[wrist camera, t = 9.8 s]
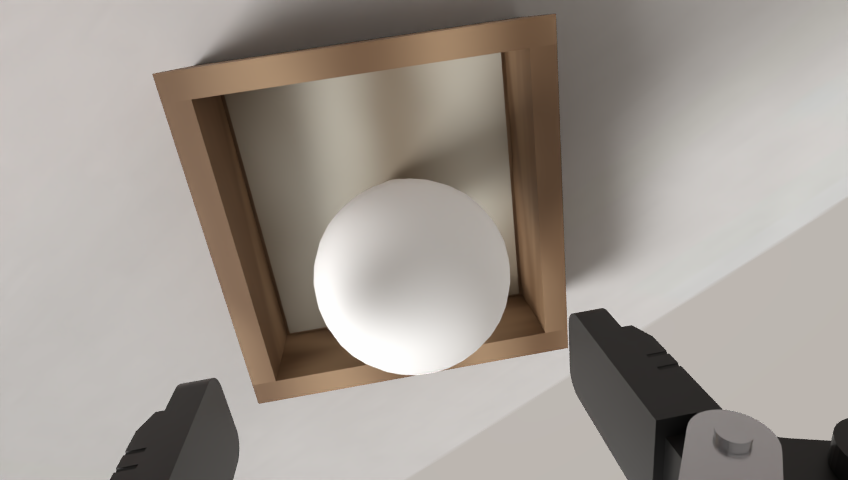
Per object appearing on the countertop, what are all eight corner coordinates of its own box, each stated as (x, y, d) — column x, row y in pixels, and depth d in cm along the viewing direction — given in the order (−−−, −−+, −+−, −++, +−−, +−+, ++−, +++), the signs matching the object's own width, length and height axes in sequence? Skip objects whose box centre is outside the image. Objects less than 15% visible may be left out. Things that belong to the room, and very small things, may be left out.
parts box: (274, 346, 27) (258, 403, 23) (192, 65, 22) (152, 73, 18) (537, 300, 28) (568, 348, 24) (520, 17, 22) (556, 13, 18)
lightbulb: (415, 105, 22) (458, 166, 12) (487, 214, 25) (575, 343, 14) (301, 185, 23) (252, 306, 13) (381, 284, 25) (393, 454, 15)
